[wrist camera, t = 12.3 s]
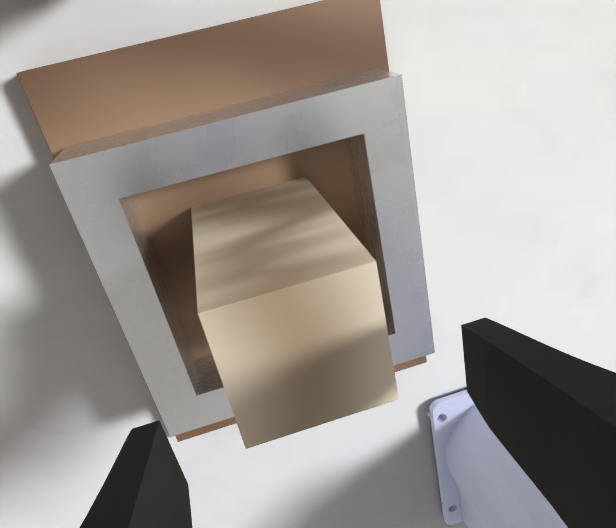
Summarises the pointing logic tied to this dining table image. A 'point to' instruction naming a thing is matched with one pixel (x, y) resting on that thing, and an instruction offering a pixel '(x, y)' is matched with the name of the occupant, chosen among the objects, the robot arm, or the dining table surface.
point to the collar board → (231, 171)
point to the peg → (290, 310)
